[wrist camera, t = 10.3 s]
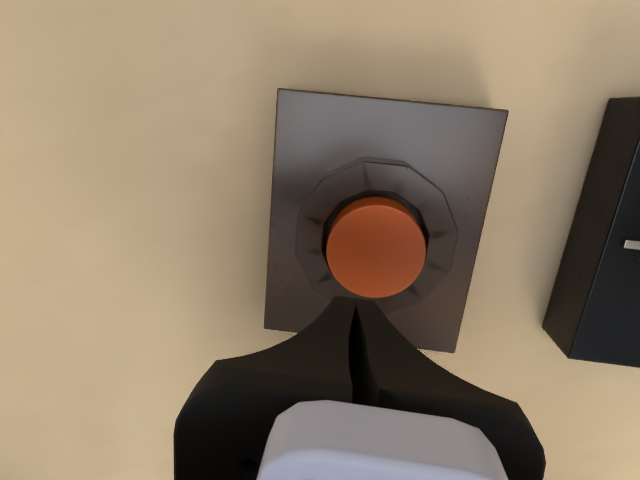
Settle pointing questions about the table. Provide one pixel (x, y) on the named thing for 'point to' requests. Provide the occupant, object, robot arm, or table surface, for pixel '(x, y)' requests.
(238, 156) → the table surface
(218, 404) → the robot arm
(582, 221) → the panel
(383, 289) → the button
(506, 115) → the button box
